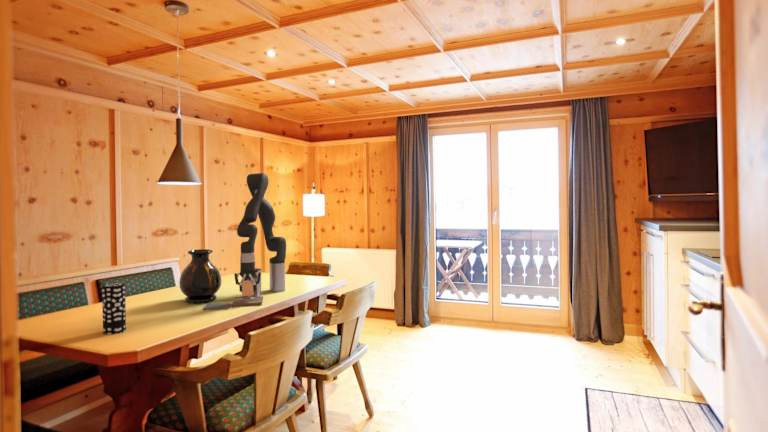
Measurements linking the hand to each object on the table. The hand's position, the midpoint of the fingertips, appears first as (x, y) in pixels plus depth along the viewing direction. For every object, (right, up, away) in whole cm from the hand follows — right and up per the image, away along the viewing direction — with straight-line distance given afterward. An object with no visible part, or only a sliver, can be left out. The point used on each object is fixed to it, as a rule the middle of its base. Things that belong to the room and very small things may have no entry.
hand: (247, 291), depth 238 cm
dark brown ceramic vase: (-28, -6, +5) cm, 29 cm away
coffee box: (-2, -6, +16) cm, 17 cm away
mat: (-13, -6, -9) cm, 17 cm away
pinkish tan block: (0, -2, 0) cm, 2 cm away
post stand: (0, -6, 0) cm, 6 cm away
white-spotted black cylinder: (-41, -8, -52) cm, 66 cm away
